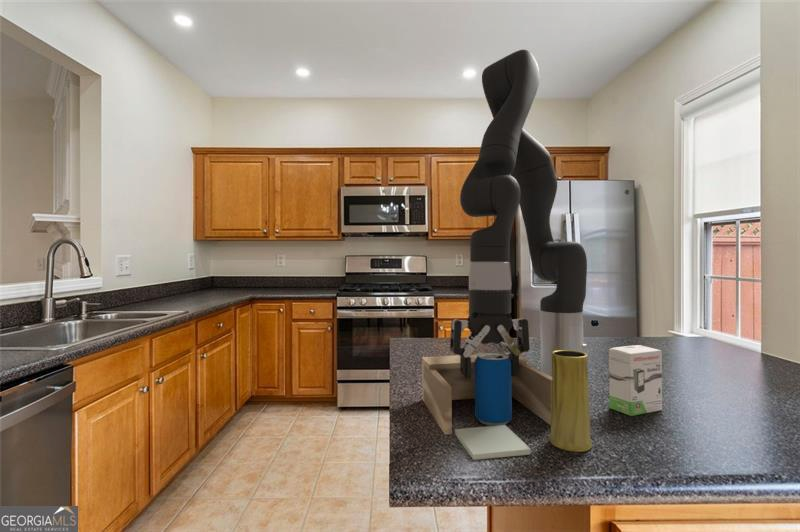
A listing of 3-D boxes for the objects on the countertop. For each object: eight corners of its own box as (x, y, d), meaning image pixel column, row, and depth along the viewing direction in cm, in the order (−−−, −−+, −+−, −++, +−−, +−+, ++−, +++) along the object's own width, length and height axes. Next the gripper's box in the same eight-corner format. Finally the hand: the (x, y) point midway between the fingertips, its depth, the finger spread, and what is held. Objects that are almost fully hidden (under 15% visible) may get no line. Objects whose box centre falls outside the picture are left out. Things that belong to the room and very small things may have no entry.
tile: (505, 429, 68) (505, 424, 68) (530, 454, 59) (530, 449, 59) (454, 433, 67) (454, 429, 67) (473, 459, 58) (473, 454, 58)
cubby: (513, 393, 87) (513, 352, 87) (557, 425, 70) (556, 374, 70) (422, 399, 83) (422, 357, 83) (445, 434, 66) (444, 381, 66)
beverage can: (513, 429, 68) (512, 359, 68) (475, 426, 69) (474, 358, 69) (510, 415, 75) (509, 351, 74) (475, 413, 76) (474, 350, 76)
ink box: (630, 417, 73) (629, 353, 73) (607, 408, 78) (607, 347, 77) (663, 410, 76) (663, 349, 76) (639, 402, 81) (639, 344, 80)
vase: (543, 436, 65) (542, 349, 65) (578, 434, 66) (577, 348, 66) (561, 453, 59) (560, 358, 59) (600, 451, 60) (599, 357, 60)
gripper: (517, 285, 77) (517, 369, 77) (446, 286, 75) (446, 372, 75) (536, 287, 69) (536, 380, 69) (457, 288, 67) (457, 383, 67)
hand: (489, 376), depth 72 cm, fingers open, 8 cm apart
